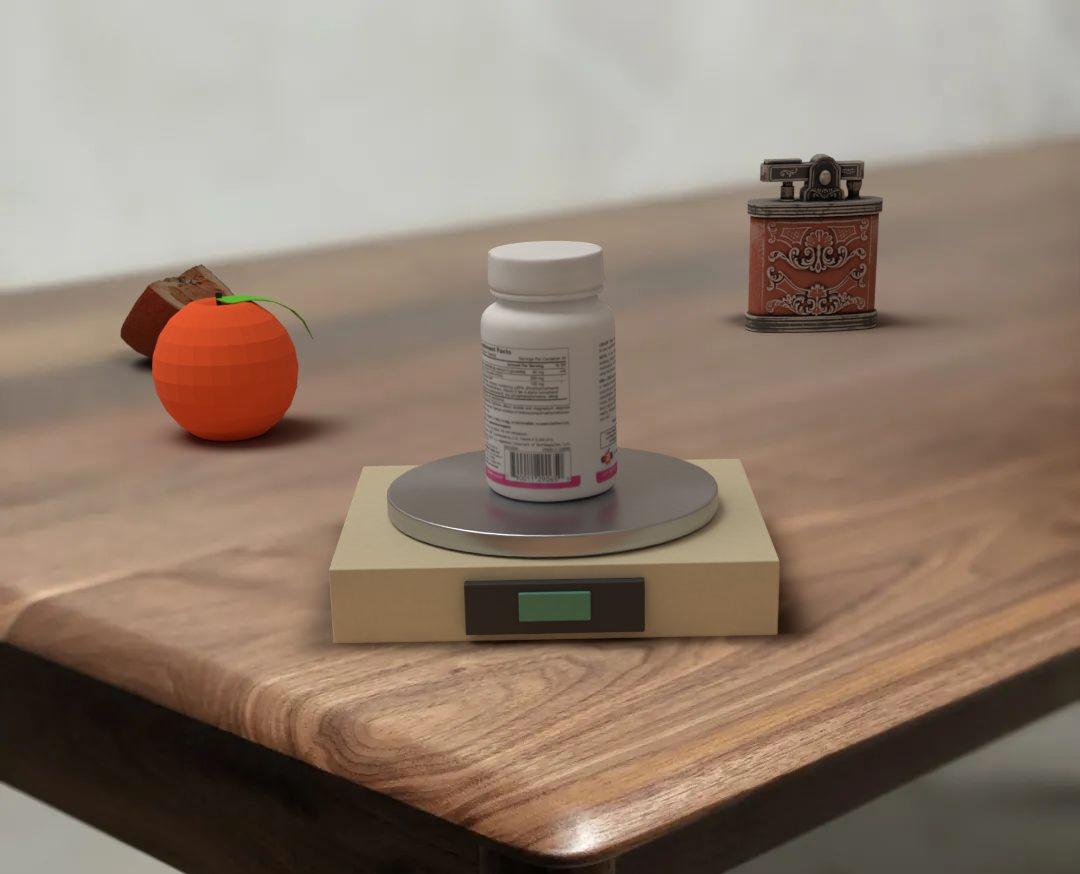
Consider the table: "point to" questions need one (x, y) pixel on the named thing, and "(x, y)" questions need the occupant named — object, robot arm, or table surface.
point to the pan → (553, 508)
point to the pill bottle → (549, 373)
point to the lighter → (813, 249)
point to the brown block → (167, 306)
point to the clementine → (225, 368)
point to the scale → (554, 579)
